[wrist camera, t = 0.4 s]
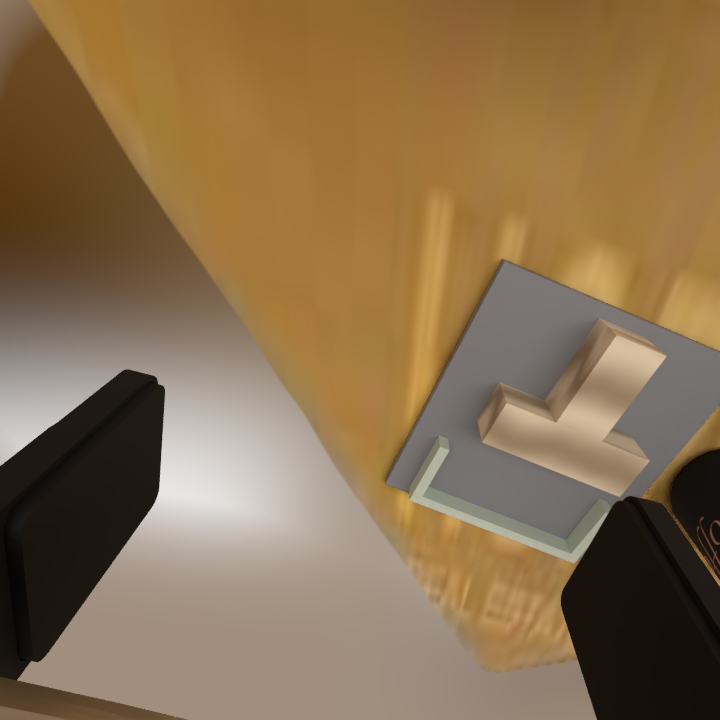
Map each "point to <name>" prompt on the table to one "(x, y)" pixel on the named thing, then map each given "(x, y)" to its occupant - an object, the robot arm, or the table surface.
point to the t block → (579, 412)
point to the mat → (538, 377)
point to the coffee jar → (700, 505)
